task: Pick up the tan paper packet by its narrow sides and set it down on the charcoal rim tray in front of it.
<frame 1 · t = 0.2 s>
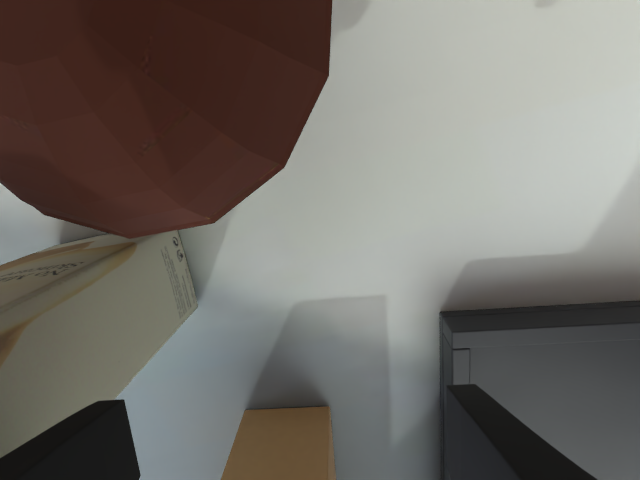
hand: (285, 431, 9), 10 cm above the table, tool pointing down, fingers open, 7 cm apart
cosmetic box: (128, 275, 19), on the table
muffin: (201, 64, 17), on the table
tray: (565, 463, 20), on the table
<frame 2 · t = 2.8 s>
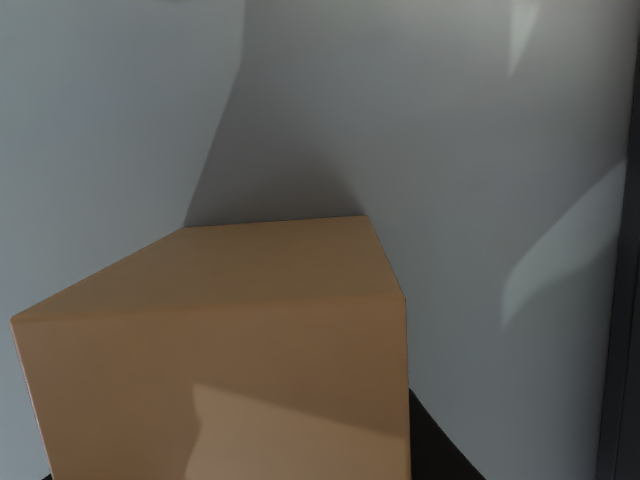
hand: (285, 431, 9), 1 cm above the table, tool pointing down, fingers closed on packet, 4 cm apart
packet: (291, 393, 10), on the table, touching gripper
when the fingers open (2 cm above the table, at t = 7.5 s): packet stays where it is, resting on tray.
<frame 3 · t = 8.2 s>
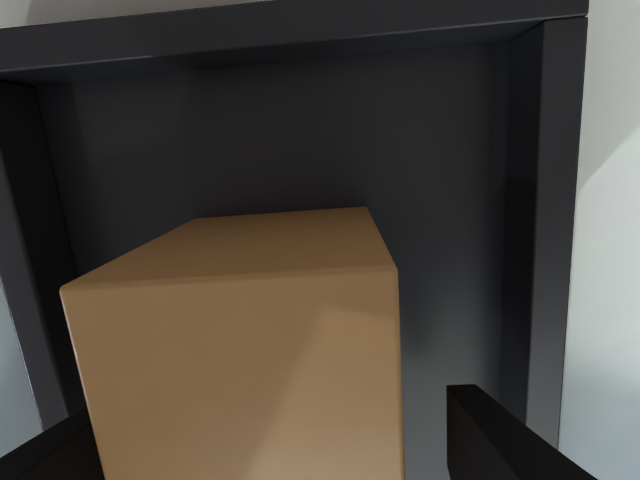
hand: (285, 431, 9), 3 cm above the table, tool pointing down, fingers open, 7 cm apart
packet: (295, 373, 11), point 1 cm above the table, touching tray
tray: (298, 363, 11), on the table
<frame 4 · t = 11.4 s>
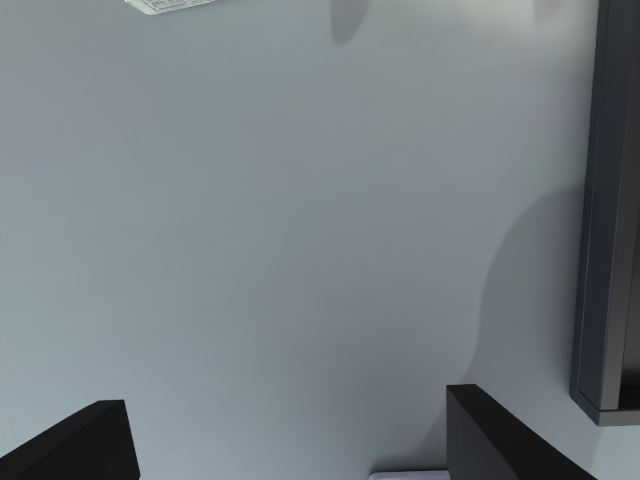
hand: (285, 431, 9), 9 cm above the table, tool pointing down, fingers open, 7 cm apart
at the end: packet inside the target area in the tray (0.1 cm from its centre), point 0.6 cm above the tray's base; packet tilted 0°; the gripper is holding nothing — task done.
